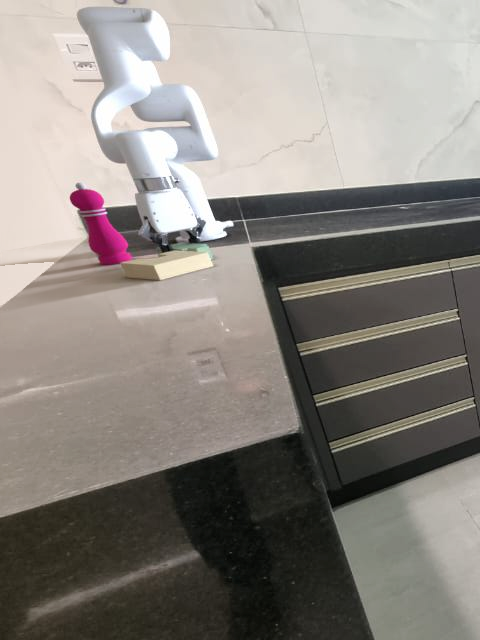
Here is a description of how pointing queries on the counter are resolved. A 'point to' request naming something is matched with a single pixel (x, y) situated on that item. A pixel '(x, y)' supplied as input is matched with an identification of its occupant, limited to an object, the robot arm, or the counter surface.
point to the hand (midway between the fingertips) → (185, 256)
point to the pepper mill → (100, 227)
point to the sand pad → (167, 265)
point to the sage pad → (189, 248)
